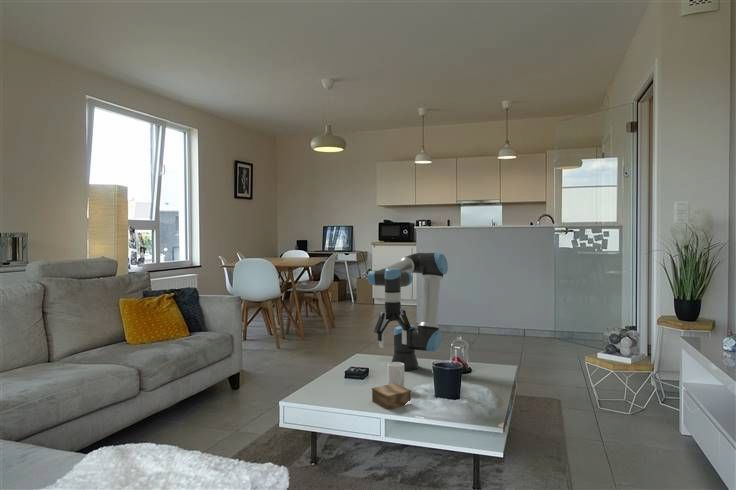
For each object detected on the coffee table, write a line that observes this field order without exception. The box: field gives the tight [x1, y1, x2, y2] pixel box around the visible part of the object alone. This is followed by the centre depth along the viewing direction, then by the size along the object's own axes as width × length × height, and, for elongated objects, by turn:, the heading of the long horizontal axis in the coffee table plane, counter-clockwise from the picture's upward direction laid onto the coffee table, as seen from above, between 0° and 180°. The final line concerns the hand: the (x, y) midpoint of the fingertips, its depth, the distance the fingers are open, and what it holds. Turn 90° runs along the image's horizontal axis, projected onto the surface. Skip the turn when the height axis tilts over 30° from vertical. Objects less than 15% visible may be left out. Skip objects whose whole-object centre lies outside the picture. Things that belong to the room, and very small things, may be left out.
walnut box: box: [371, 384, 412, 411], centre depth 210 cm, size 12×12×6 cm
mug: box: [386, 361, 406, 388], centre depth 228 cm, size 12×8×12 cm
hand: (393, 345), depth 228 cm, fingers open, 13 cm apart
